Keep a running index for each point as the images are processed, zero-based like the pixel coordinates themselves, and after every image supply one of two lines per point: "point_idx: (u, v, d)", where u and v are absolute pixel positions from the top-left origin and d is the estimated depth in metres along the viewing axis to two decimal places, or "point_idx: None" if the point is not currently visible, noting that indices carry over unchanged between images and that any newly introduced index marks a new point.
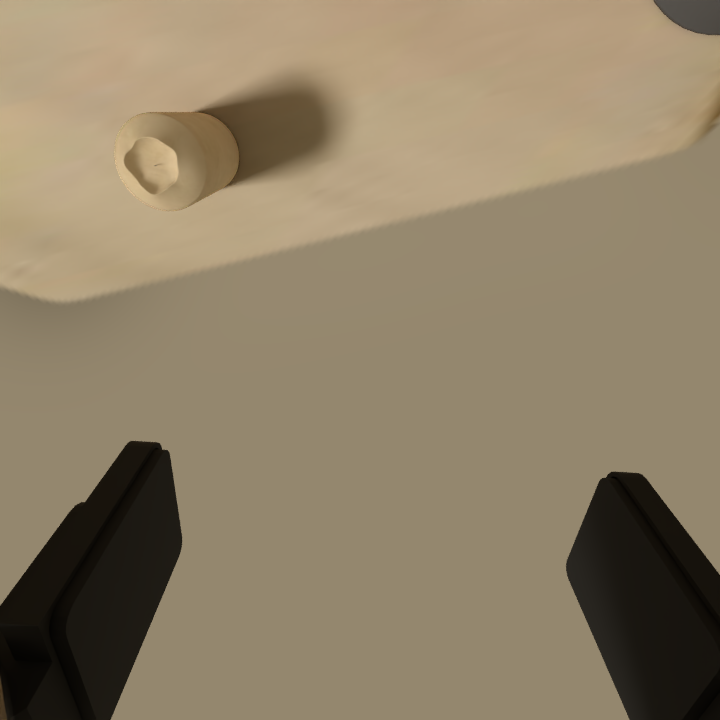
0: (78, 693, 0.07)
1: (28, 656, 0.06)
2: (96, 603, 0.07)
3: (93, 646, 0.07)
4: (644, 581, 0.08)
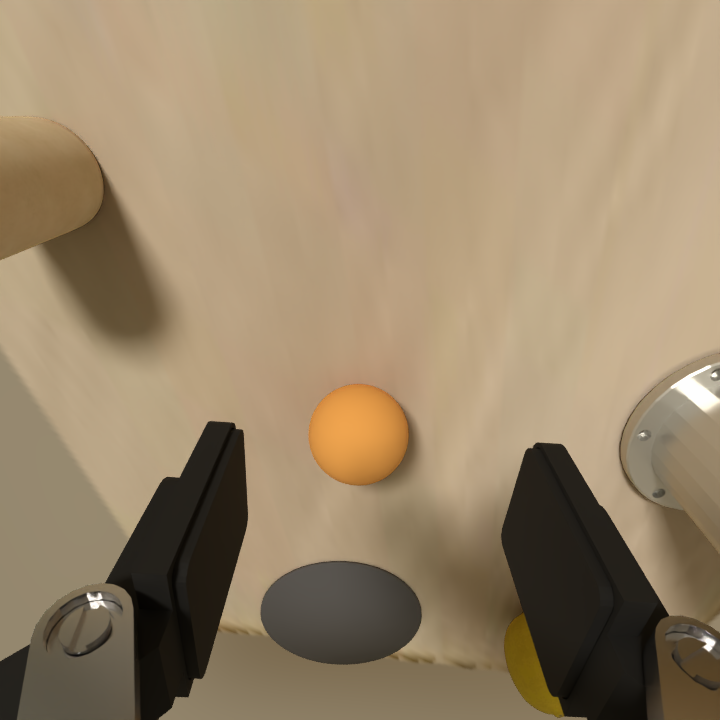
0: (187, 642, 0.08)
1: (152, 604, 0.07)
2: (201, 562, 0.08)
3: (199, 600, 0.08)
4: (553, 538, 0.09)
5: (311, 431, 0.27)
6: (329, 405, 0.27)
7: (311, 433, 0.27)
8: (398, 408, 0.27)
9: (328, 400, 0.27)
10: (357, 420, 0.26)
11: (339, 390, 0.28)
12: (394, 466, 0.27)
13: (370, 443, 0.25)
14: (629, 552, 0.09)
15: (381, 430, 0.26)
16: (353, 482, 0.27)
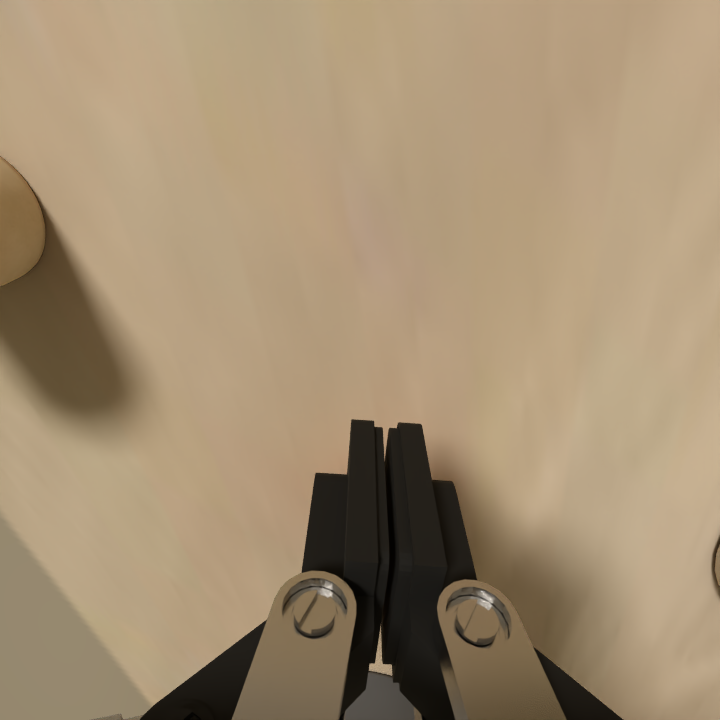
0: (374, 628, 0.08)
1: (356, 591, 0.07)
2: None
3: None
4: (390, 512, 0.09)
5: None
6: None
7: None
8: None
9: None
10: None
11: None
12: None
13: None
14: (462, 525, 0.09)
15: None
16: None
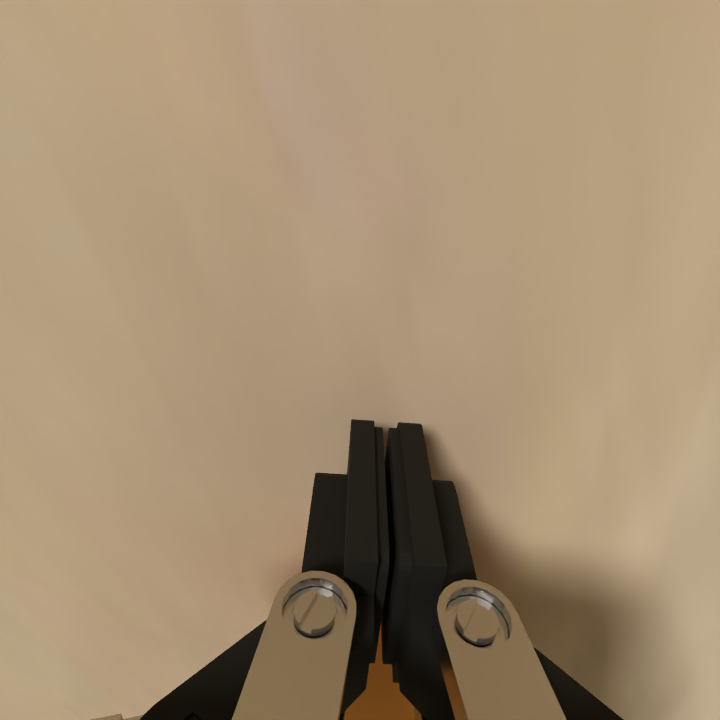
0: (374, 628, 0.08)
1: (356, 591, 0.07)
2: None
3: None
4: (390, 512, 0.09)
5: None
6: None
7: None
8: None
9: None
10: (360, 718, 0.10)
11: None
12: None
13: None
14: (462, 525, 0.09)
15: None
16: None
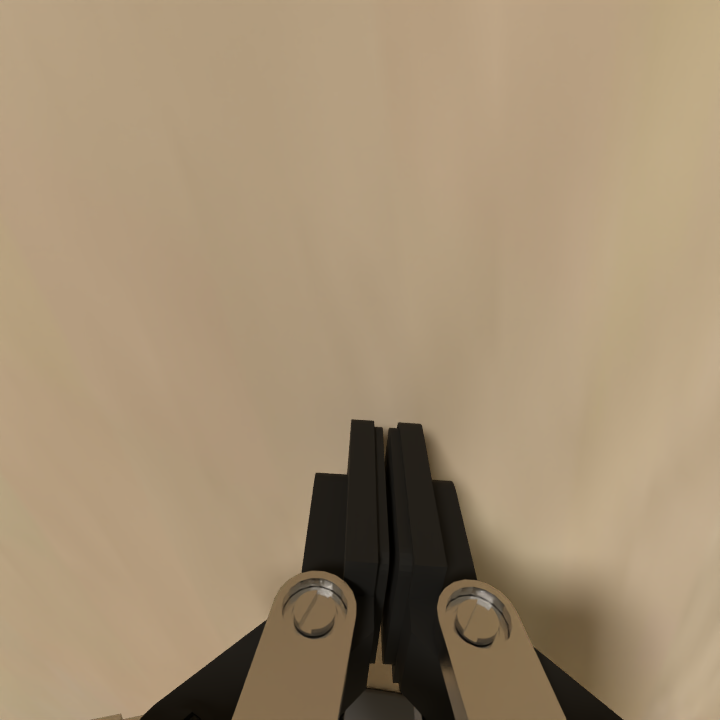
0: (373, 627, 0.08)
1: (356, 591, 0.07)
2: None
3: None
4: (390, 512, 0.09)
5: None
6: None
7: None
8: None
9: None
10: None
11: None
12: None
13: None
14: (462, 525, 0.09)
15: None
16: None
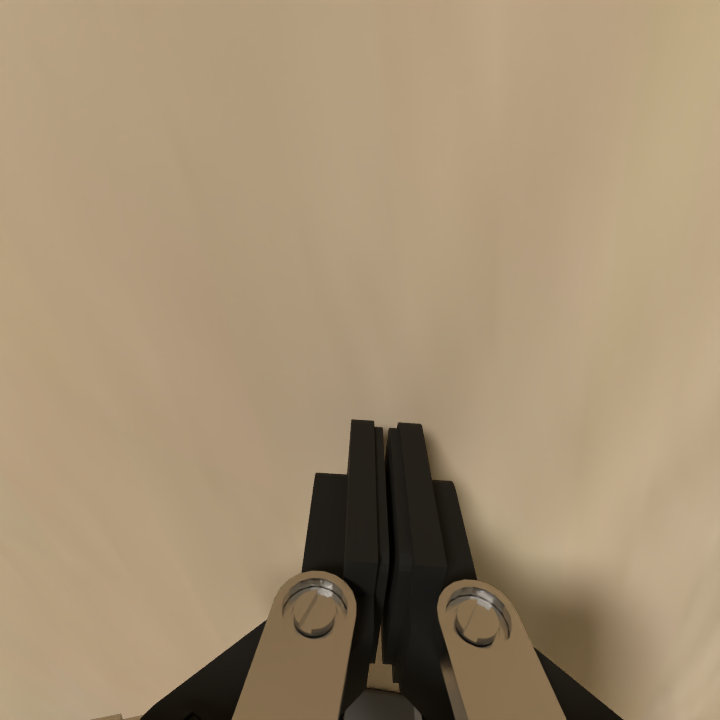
0: (373, 627, 0.08)
1: (356, 591, 0.07)
2: None
3: None
4: (390, 512, 0.09)
5: None
6: None
7: None
8: None
9: None
10: None
11: None
12: None
13: None
14: (462, 525, 0.09)
15: None
16: None
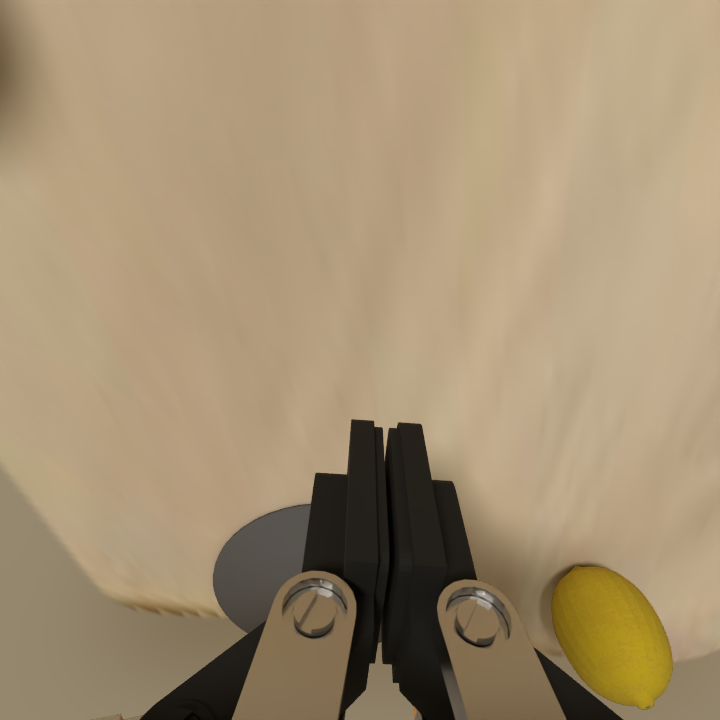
0: (374, 627, 0.08)
1: (356, 591, 0.07)
2: None
3: None
4: (390, 512, 0.09)
5: None
6: None
7: None
8: None
9: None
10: None
11: None
12: None
13: None
14: (462, 525, 0.09)
15: None
16: None
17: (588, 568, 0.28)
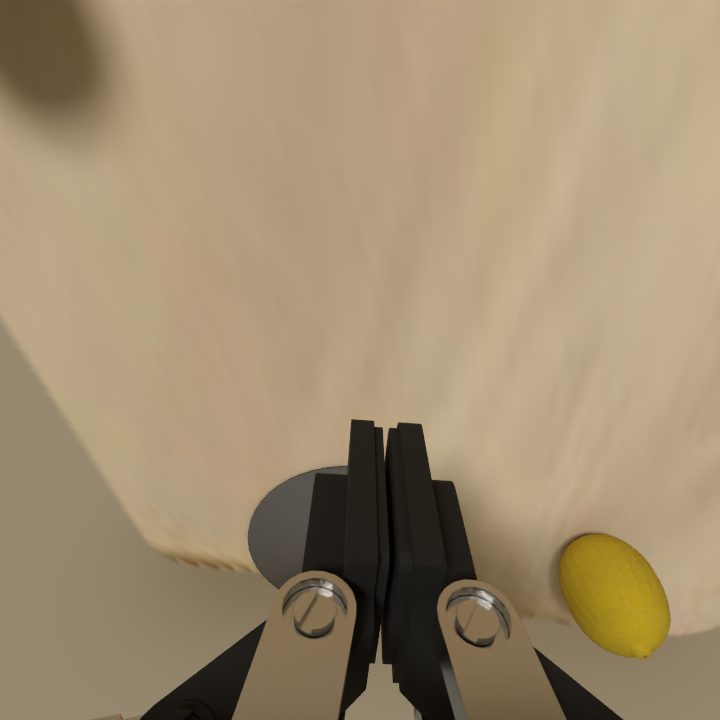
0: (374, 627, 0.08)
1: (356, 591, 0.07)
2: None
3: None
4: (390, 512, 0.09)
5: None
6: None
7: None
8: None
9: None
10: None
11: None
12: None
13: None
14: (462, 525, 0.09)
15: None
16: None
17: (594, 535, 0.30)
